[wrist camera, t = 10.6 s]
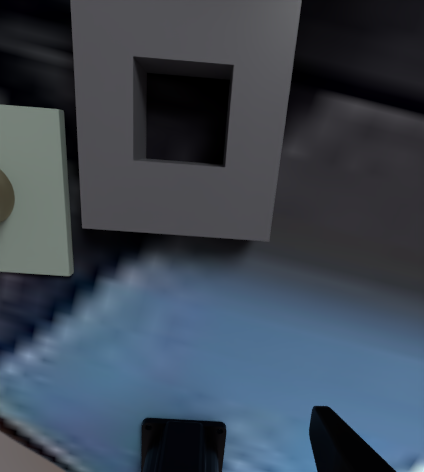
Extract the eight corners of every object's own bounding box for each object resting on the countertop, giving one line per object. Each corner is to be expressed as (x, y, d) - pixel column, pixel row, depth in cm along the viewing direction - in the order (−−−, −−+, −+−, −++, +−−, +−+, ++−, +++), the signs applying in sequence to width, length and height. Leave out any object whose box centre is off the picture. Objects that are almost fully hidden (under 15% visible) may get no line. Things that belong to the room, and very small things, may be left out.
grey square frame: (260, 227, 19) (268, 241, 16) (102, 215, 18) (82, 228, 16) (287, 5, 15) (305, -28, 12) (95, -12, 15) (68, -50, 12)
